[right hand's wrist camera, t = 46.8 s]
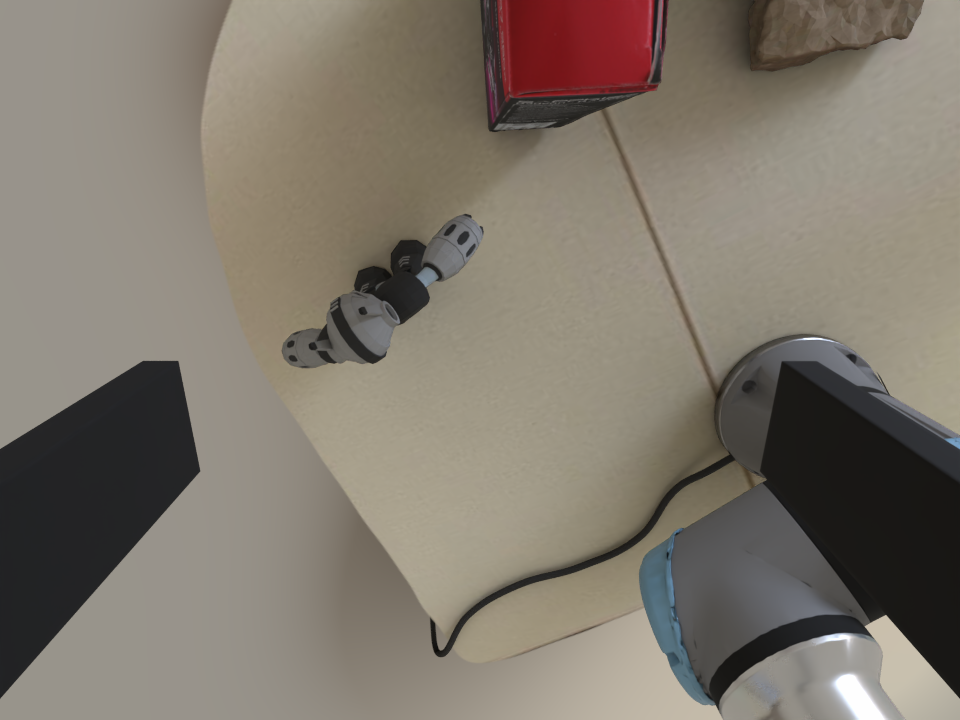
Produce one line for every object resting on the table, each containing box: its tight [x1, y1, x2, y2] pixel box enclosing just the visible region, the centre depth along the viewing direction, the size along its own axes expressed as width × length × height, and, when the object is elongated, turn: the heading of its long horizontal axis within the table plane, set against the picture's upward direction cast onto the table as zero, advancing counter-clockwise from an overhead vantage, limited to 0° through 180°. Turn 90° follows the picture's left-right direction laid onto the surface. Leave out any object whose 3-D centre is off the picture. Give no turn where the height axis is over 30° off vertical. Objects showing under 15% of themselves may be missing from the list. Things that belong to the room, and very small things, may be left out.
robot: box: [282, 214, 484, 368], centre depth 43 cm, size 20×5×20 cm, turn 125°
